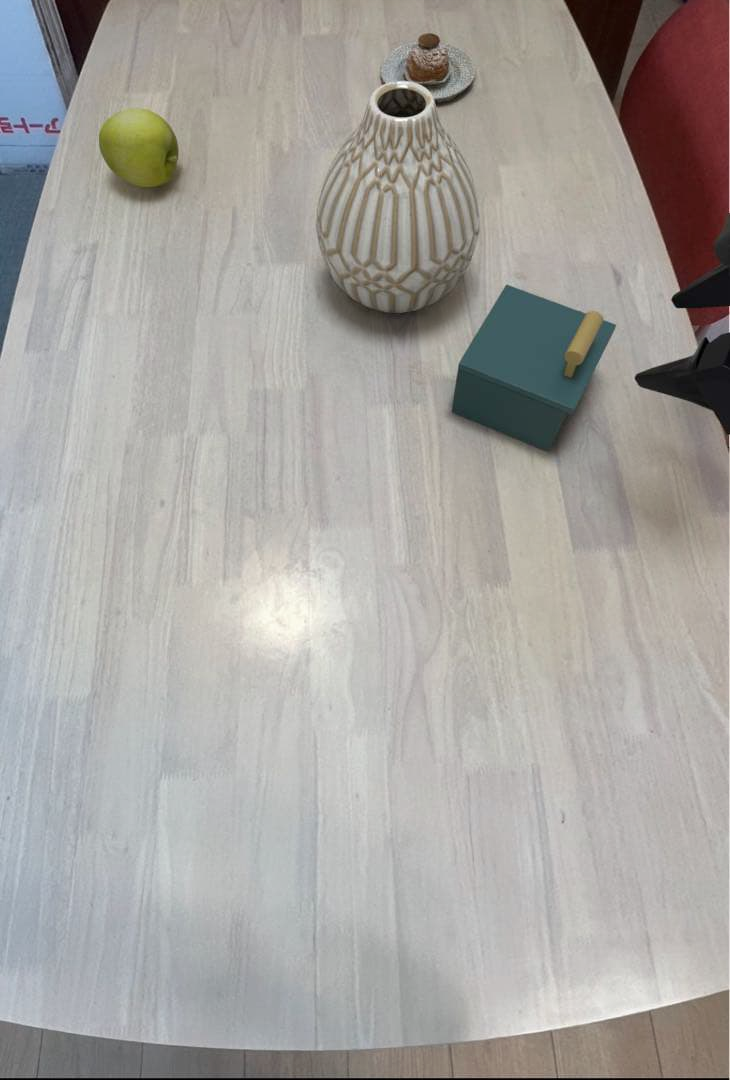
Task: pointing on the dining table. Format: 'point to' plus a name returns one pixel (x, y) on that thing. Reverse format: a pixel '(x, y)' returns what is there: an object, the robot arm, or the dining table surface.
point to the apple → (139, 147)
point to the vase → (398, 205)
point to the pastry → (430, 67)
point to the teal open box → (506, 411)
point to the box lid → (538, 348)
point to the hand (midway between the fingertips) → (656, 340)
